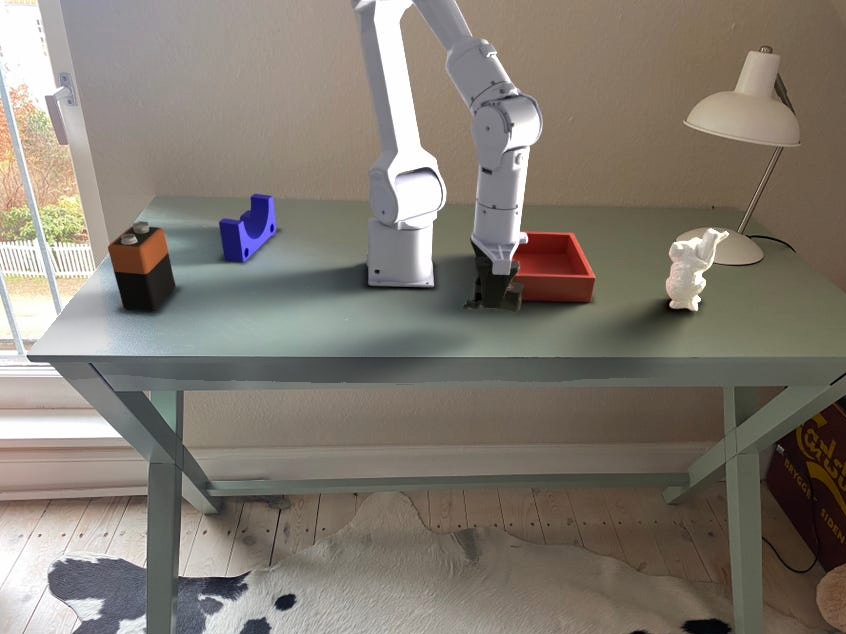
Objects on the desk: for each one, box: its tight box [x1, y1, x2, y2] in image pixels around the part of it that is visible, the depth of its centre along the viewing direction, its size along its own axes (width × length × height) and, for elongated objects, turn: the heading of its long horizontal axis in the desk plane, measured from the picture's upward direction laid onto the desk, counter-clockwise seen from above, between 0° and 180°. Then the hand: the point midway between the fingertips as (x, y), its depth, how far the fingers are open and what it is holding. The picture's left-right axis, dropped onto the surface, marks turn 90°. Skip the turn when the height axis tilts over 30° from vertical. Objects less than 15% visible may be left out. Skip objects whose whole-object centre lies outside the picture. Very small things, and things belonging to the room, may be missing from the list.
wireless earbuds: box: [462, 276, 524, 313], centre depth 87 cm, size 5×7×3 cm, turn 75°
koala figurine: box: [665, 228, 730, 312], centre depth 96 cm, size 8×7×12 cm
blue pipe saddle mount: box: [218, 193, 277, 263], centre depth 102 cm, size 12×4×6 cm, turn 171°
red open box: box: [511, 230, 596, 303], centre depth 102 cm, size 12×16×4 cm
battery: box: [107, 220, 176, 312], centre depth 85 cm, size 4×7×10 cm, turn 178°
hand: (489, 298), depth 88 cm, fingers closed on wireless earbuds, 4 cm apart
